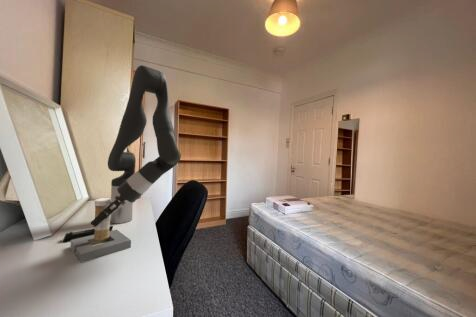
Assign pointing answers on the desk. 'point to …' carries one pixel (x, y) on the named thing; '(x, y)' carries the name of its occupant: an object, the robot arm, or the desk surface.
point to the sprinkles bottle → (104, 226)
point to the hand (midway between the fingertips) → (95, 222)
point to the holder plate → (99, 245)
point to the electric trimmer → (80, 234)
